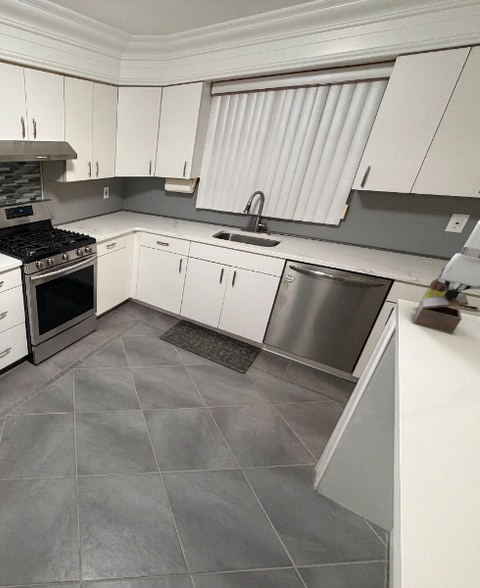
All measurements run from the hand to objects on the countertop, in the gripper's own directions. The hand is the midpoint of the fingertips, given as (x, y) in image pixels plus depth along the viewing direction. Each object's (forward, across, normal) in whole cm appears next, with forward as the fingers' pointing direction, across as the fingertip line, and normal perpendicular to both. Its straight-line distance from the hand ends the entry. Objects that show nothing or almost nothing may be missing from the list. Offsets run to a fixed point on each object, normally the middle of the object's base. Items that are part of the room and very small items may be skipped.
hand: (448, 298), depth 117 cm
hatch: (+2, 0, 0) cm, 2 cm away
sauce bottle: (+12, +2, -12) cm, 17 cm away
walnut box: (+11, 0, 0) cm, 11 cm away
